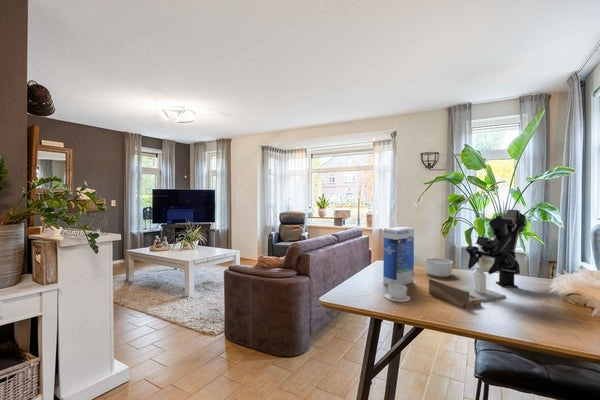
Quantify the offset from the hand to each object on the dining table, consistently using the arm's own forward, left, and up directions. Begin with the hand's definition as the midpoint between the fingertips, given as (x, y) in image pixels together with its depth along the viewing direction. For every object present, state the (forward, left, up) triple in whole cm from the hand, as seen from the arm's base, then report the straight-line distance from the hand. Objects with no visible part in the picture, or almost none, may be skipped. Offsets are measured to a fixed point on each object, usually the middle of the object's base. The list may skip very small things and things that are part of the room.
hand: (478, 270), depth 122 cm
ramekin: (-31, -7, -10) cm, 33 cm away
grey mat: (0, +1, -10) cm, 10 cm away
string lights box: (-11, -30, -10) cm, 33 cm away
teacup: (+9, -33, -10) cm, 36 cm away
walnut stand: (+7, -12, -10) cm, 17 cm away
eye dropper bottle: (-1, +1, -9) cm, 9 cm away
